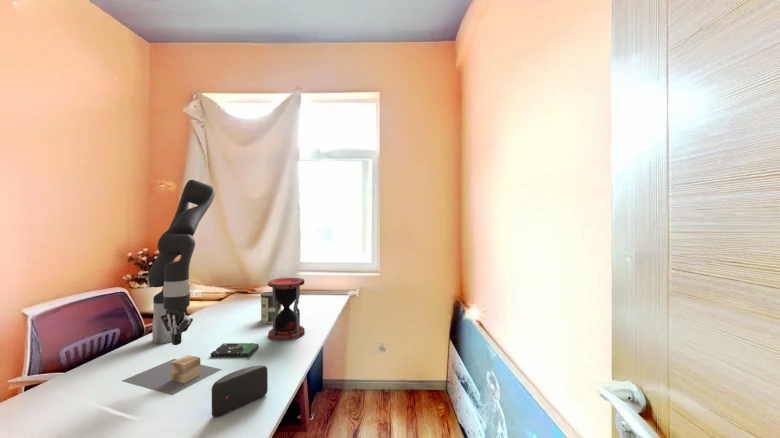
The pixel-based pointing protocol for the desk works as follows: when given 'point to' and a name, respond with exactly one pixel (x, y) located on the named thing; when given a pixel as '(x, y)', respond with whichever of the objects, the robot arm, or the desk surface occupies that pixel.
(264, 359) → the desk surface
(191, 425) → the desk surface
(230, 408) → the leaning round-cornered charcoal block
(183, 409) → the desk surface
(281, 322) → the hourglass
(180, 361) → the oak cube
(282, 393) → the desk surface
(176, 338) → the robot arm
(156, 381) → the rubber mat
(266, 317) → the coffee can
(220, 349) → the disk drive
